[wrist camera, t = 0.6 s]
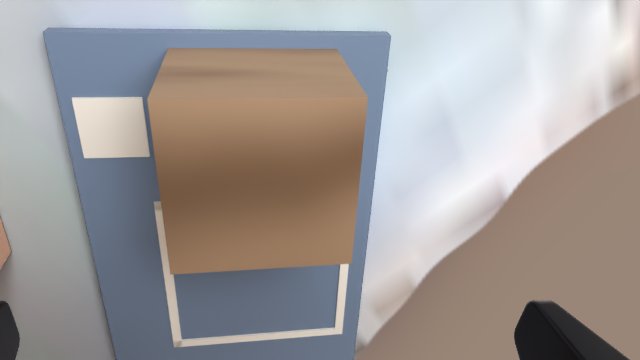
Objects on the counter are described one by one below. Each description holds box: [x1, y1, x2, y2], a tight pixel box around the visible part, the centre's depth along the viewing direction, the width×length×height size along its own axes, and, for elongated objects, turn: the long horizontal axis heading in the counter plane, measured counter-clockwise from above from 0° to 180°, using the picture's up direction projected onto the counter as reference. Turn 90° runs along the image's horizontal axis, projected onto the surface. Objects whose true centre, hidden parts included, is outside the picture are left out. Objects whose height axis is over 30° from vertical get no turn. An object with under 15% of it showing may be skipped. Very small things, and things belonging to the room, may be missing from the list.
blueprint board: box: [43, 28, 391, 360], centre depth 22 cm, size 18×12×1 cm, turn 177°
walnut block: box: [147, 48, 368, 275], centre depth 17 cm, size 6×6×5 cm
